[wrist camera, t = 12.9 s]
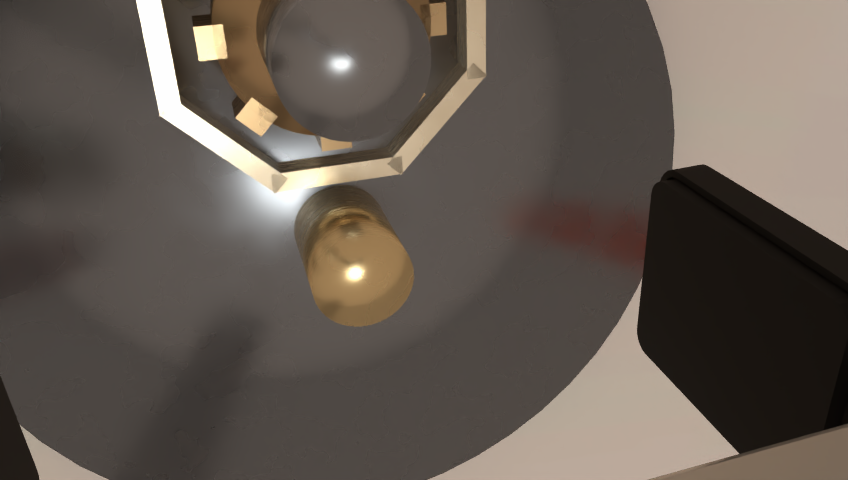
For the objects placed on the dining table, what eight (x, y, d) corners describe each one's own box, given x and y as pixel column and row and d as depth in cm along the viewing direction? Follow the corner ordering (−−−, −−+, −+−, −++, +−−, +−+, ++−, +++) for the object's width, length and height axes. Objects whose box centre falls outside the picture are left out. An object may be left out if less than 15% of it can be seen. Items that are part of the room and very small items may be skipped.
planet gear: (170, -103, 27) (171, -86, 21) (426, -118, 29) (494, -107, 23) (214, 148, 31) (225, 221, 25) (434, 118, 33) (493, 180, 27)
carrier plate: (-244, -185, 24) (-369, -193, 18) (696, -216, 32) (809, -228, 26) (43, 556, 39) (22, 673, 34) (628, 416, 47) (689, 493, 41)
